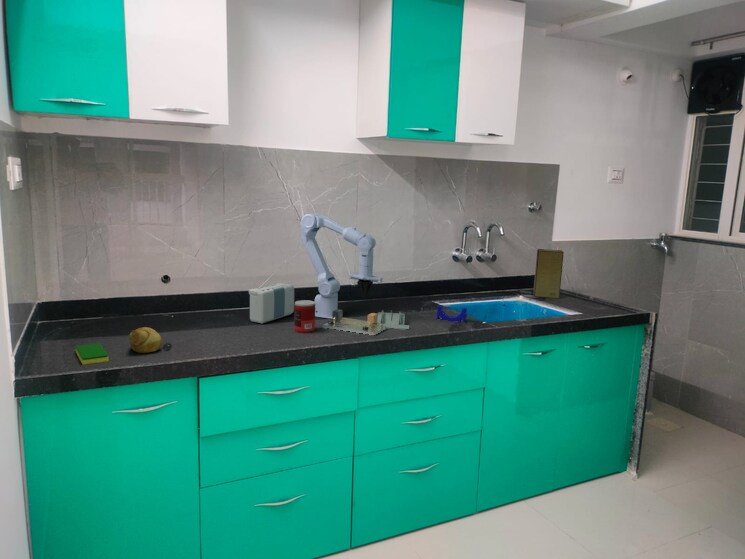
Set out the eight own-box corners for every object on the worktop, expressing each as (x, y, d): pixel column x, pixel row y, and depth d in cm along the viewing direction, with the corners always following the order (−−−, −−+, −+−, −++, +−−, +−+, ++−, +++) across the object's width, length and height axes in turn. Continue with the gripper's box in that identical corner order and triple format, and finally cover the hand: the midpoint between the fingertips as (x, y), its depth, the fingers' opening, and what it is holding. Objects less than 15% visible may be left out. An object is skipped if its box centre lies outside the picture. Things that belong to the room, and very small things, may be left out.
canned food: (318, 329, 214) (318, 301, 212) (309, 334, 207) (309, 305, 205) (300, 326, 216) (300, 299, 215) (290, 331, 209) (291, 303, 207)
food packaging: (558, 295, 302) (562, 249, 298) (559, 298, 293) (564, 251, 289) (532, 293, 305) (536, 248, 301) (533, 296, 296) (537, 250, 292)
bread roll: (129, 344, 186) (129, 321, 184) (160, 342, 190) (160, 319, 188) (129, 356, 174) (128, 331, 173) (162, 353, 178) (162, 329, 177)
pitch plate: (322, 327, 216) (322, 314, 215) (336, 321, 227) (337, 308, 226) (374, 335, 208) (374, 321, 207) (386, 328, 219) (387, 315, 218)
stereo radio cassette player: (263, 325, 217) (263, 274, 213) (246, 322, 221) (246, 272, 217) (294, 315, 235) (295, 268, 232) (279, 312, 239) (279, 266, 235)
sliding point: (366, 326, 215) (366, 315, 214) (371, 323, 219) (371, 312, 218) (372, 327, 214) (372, 316, 213) (377, 324, 218) (377, 313, 217)
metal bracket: (373, 307, 231) (409, 309, 230) (373, 319, 233) (409, 321, 233) (371, 325, 218) (409, 327, 217) (370, 337, 221) (408, 339, 220)
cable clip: (466, 320, 238) (467, 307, 237) (464, 323, 233) (465, 309, 232) (438, 317, 241) (439, 304, 240) (436, 320, 237) (437, 306, 236)
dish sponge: (82, 366, 165) (82, 358, 164) (75, 353, 176) (75, 346, 175) (108, 362, 169) (108, 354, 168) (100, 350, 180) (100, 343, 179)
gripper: (345, 264, 226) (344, 297, 228) (377, 268, 220) (376, 301, 222) (353, 262, 232) (352, 294, 235) (385, 266, 226) (383, 298, 229)
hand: (364, 298), depth 229 cm, fingers closed
